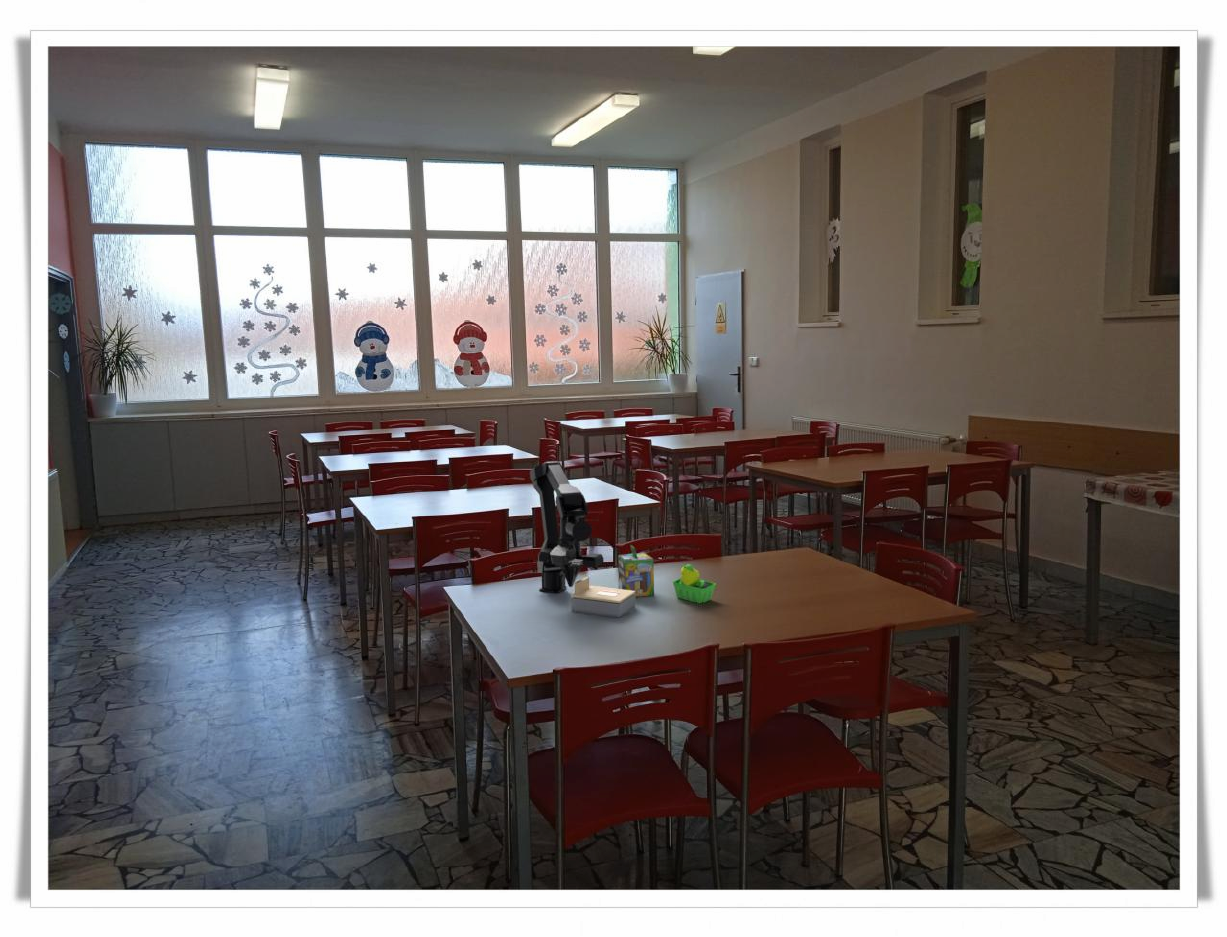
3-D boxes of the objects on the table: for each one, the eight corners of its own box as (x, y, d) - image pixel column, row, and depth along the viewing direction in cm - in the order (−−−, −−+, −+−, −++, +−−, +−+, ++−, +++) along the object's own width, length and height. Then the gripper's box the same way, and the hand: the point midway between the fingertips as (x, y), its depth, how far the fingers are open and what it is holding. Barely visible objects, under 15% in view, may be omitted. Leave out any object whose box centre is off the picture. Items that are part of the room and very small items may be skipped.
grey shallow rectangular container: (571, 611, 242) (571, 598, 241) (588, 601, 252) (588, 588, 251) (619, 618, 236) (619, 604, 235) (635, 607, 245) (635, 594, 245)
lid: (571, 597, 241) (571, 584, 241) (588, 587, 251) (588, 575, 250) (619, 603, 235) (619, 590, 234) (635, 593, 245) (635, 580, 244)
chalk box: (654, 596, 257) (654, 548, 254) (625, 598, 254) (625, 550, 252) (646, 588, 265) (646, 541, 263) (617, 590, 263) (617, 543, 261)
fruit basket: (716, 600, 253) (717, 563, 251) (698, 606, 246) (699, 568, 245) (686, 592, 260) (687, 556, 259) (668, 598, 254) (668, 562, 252)
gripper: (528, 536, 242) (529, 590, 244) (586, 542, 234) (587, 597, 236) (547, 529, 252) (547, 580, 254) (604, 534, 244) (604, 587, 246)
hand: (570, 586), depth 247 cm, fingers closed
